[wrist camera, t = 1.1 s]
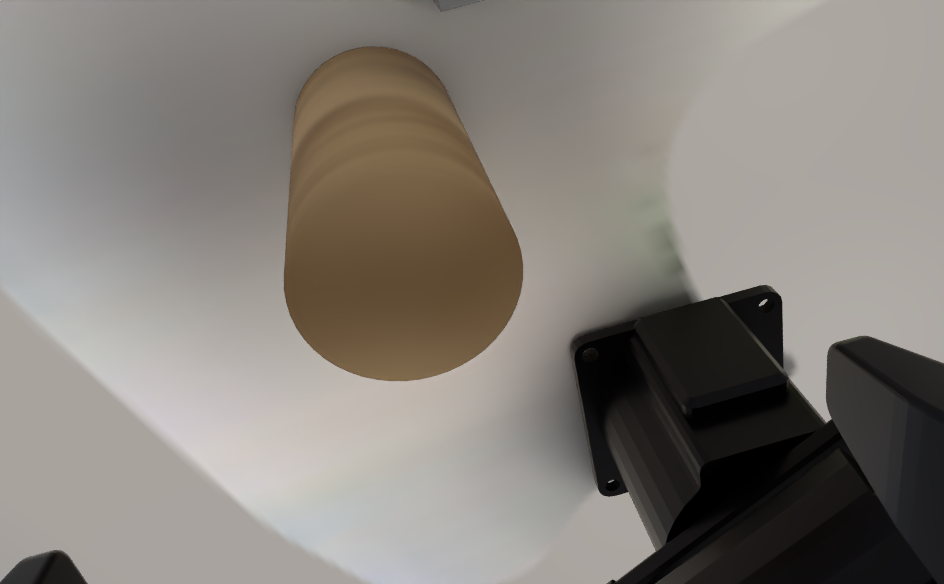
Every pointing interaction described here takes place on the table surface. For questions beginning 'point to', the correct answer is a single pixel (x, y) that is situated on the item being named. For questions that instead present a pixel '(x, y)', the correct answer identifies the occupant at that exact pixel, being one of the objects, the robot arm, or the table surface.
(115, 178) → the table surface
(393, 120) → the long peg
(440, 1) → the block
